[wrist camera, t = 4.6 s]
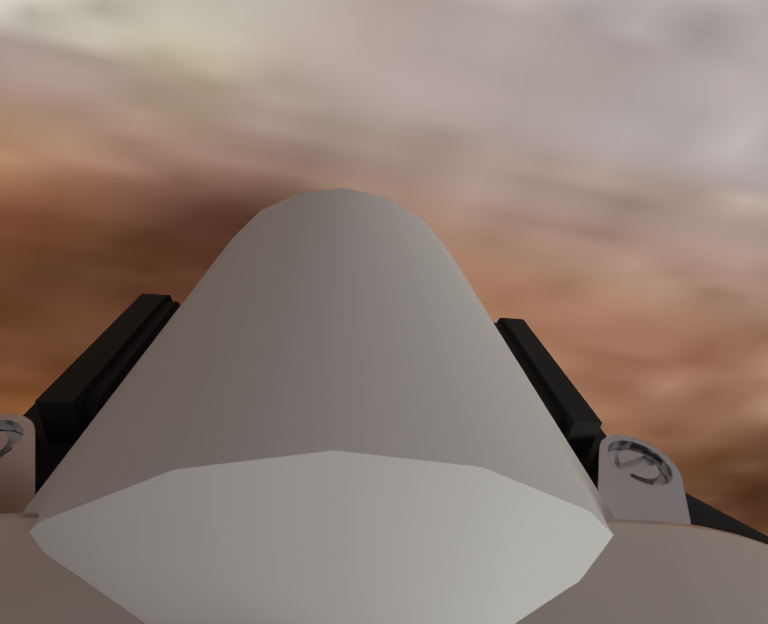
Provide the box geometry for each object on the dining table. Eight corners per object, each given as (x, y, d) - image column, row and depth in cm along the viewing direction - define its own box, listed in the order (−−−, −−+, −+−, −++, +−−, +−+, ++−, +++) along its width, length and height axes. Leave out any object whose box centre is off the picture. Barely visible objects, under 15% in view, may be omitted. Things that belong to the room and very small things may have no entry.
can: (176, 318, 14) (-388, 1076, 3) (314, 122, 12) (-72, 537, 1) (358, 424, 16) (379, 1036, 6) (501, 282, 14) (968, 870, 4)
